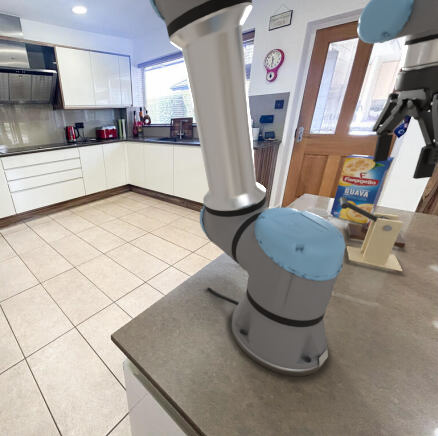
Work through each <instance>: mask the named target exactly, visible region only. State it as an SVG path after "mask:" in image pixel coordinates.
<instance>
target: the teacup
mask: <svg viewBox="0 0 438 436" xmlns="http://www.w3.org/2000/svg"><path fill="white" fill-rule="evenodd" d="M303 211H307V212H310V213H313V214H315V215H318V216H320V217H322V218H324V219H326V220H327V221H329V222H330V221H332V220H333V219H334V216H333V215H332V214H330V213H331V211H328V210H327V209H324V208H321V207H320V208H319V207H307V208H304V210H303ZM329 217H330V218H329Z"/></svg>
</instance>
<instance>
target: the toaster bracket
mask: <svg viewBox="0 0 438 436" xmlns="http://www.w3.org/2000/svg"><path fill="white" fill-rule="evenodd" d="M373 215H375V216H377V217H379V218H377V220H376V222H375V221H373V220H370V221H371V223H370V226H369V229H368V231H367V234H366V237H365V240H363V242H362V245H361V247H354V246H350V245H349V246H348V245H347V246H346V250H347V255H348V260H349V261H350V262H355V263H360V264H365V265H369V266H374V267H378V268H379V267H380V268H383V269H389V270H392V271H398V272H403V269H402V267H401V264H400V262H399V261H398V259H397V256H396V254H391V253H392V250H393V248H394V247H395V246H394V243H395V241H396V239H397V236H398V234H400V231H401V229H402V226H403V225H404V222H403V221H402V220H399V218H400V216H399V215H398V214H391V213H384V212H383V213H382V212H375V211H374V214H373ZM382 216H384V217H386V218H388V219H390V220H388V219H381V217H382Z"/></svg>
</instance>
